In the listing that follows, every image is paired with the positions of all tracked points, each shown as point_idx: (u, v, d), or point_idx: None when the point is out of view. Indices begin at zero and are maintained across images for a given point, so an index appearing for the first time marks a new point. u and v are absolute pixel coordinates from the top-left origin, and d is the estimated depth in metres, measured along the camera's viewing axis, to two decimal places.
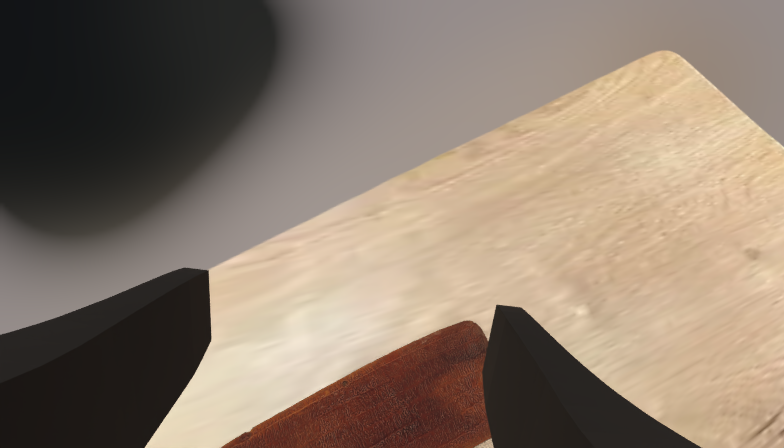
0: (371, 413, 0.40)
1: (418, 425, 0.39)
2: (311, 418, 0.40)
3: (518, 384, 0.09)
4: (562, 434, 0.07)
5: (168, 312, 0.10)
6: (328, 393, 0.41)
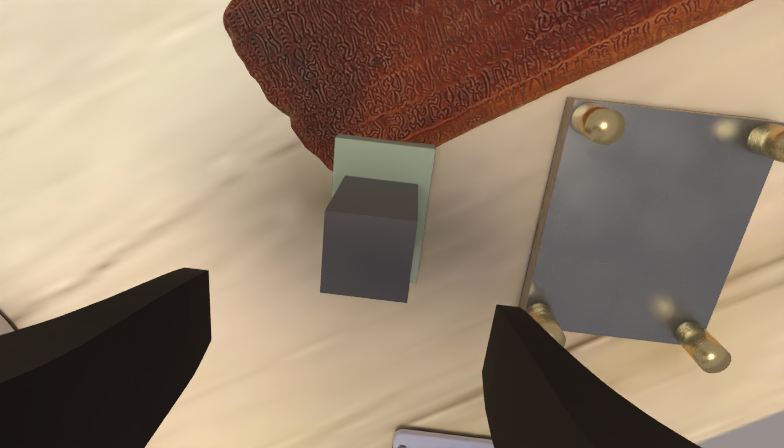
0: None
1: None
2: None
3: (518, 384, 0.09)
4: (562, 434, 0.07)
5: (167, 312, 0.10)
6: None
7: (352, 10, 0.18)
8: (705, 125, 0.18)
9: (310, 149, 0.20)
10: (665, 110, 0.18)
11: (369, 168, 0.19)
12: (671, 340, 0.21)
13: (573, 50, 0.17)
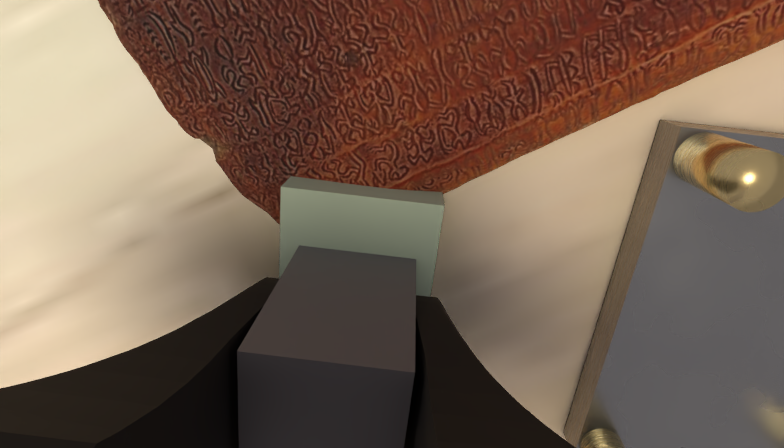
0: None
1: None
2: None
3: (415, 372, 0.09)
4: (426, 417, 0.07)
5: None
6: None
7: None
8: None
9: (253, 197, 0.13)
10: None
11: (338, 234, 0.12)
12: None
13: (686, 32, 0.10)
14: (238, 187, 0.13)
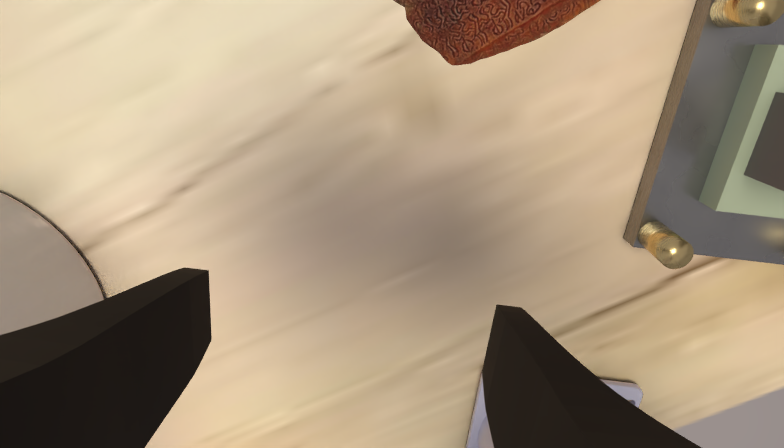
0: None
1: None
2: None
3: (518, 384, 0.09)
4: (562, 434, 0.07)
5: (168, 311, 0.10)
6: None
7: None
8: None
9: (428, 42, 0.19)
10: None
11: None
12: None
13: None
14: None
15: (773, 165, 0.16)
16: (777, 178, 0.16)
